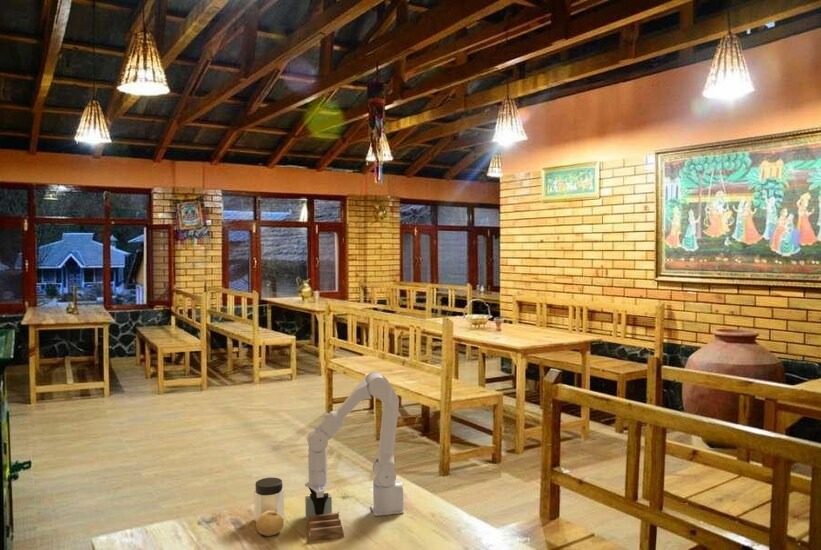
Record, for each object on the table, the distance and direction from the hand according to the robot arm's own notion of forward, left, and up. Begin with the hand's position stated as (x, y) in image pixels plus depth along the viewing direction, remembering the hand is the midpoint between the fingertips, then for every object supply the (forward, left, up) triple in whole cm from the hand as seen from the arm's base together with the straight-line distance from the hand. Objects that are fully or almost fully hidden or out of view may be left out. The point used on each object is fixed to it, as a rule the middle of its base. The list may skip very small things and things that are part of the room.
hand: (318, 511), depth 203 cm
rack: (-1, +10, -2) cm, 11 cm away
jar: (+15, -2, -2) cm, 15 cm away
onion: (+15, +8, -2) cm, 17 cm away
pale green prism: (0, 0, -2) cm, 2 cm away
